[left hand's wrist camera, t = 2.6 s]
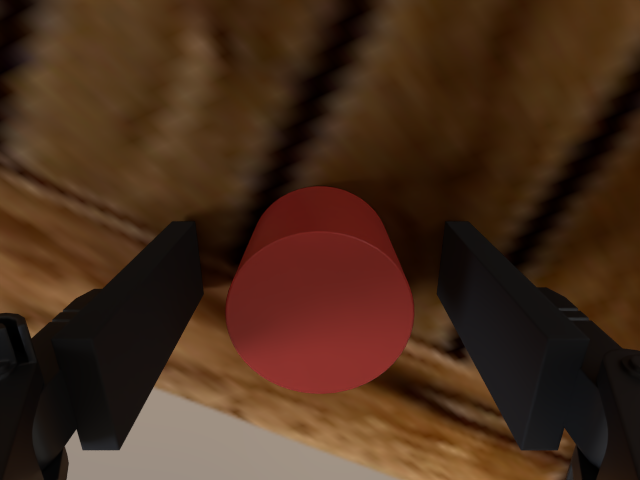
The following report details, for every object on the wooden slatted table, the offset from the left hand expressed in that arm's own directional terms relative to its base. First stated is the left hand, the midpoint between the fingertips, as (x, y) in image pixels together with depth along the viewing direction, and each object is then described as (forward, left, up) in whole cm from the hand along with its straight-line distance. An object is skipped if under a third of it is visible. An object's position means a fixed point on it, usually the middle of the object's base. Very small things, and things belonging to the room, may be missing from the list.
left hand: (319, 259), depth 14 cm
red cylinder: (0, 0, 0) cm, 0 cm away
